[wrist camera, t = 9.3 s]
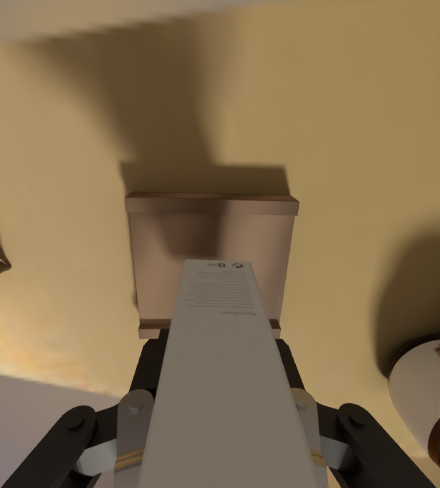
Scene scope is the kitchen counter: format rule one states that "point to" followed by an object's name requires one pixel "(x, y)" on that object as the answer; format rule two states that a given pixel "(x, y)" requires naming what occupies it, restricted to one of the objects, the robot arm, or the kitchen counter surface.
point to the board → (206, 245)
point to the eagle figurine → (4, 267)
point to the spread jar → (419, 391)
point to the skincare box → (224, 392)
